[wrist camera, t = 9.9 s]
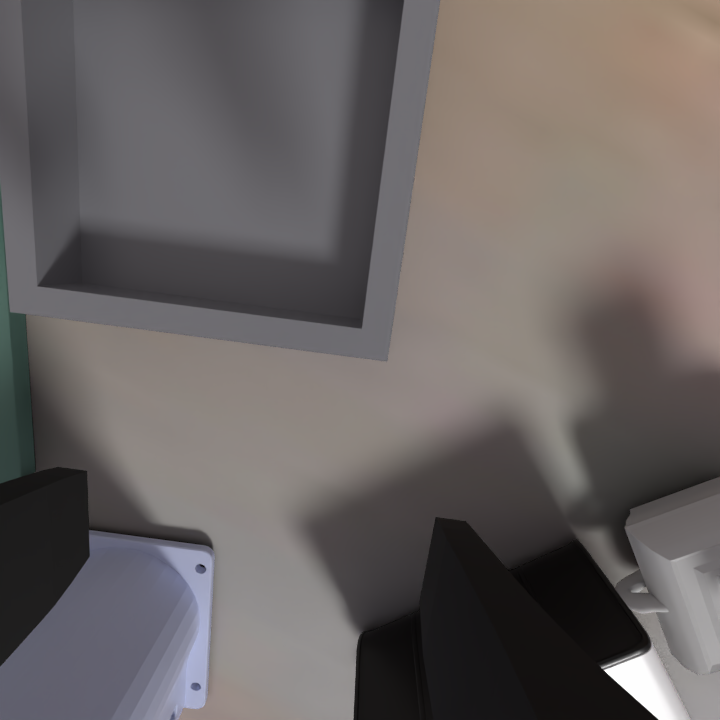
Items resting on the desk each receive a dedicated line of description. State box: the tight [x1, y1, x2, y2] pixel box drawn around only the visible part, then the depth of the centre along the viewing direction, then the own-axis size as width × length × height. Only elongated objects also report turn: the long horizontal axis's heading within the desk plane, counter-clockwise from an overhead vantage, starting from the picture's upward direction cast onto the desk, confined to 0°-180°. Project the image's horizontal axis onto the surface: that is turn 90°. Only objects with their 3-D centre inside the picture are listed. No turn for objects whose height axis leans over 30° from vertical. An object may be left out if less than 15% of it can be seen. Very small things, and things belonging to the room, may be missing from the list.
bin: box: [0, 0, 440, 361], centre depth 14 cm, size 13×13×3 cm
